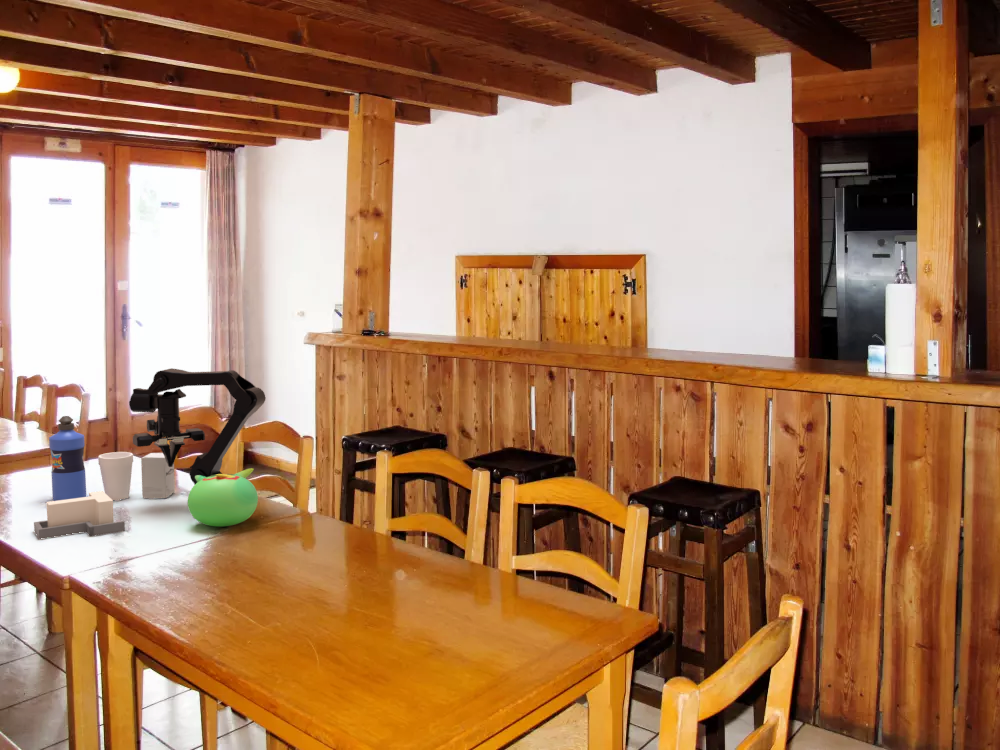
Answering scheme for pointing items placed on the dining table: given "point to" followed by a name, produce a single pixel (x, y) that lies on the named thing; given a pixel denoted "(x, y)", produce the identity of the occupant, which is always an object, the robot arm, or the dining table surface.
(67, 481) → the water bottle
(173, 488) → the supplement box
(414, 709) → the dining table surface
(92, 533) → the t outline
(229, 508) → the green rounded blob
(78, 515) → the t block
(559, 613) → the dining table surface
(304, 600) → the dining table surface
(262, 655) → the dining table surface
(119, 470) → the foam cup
